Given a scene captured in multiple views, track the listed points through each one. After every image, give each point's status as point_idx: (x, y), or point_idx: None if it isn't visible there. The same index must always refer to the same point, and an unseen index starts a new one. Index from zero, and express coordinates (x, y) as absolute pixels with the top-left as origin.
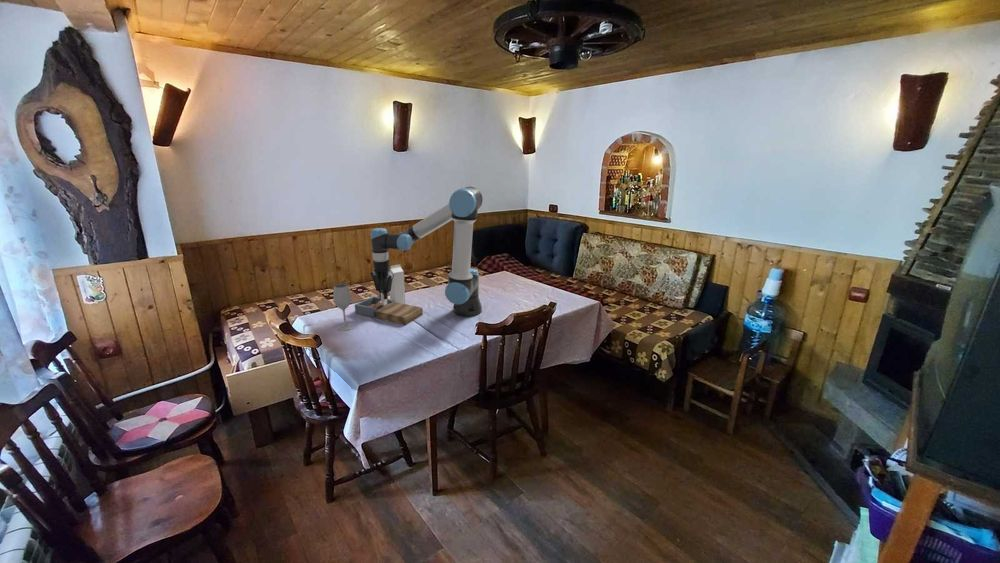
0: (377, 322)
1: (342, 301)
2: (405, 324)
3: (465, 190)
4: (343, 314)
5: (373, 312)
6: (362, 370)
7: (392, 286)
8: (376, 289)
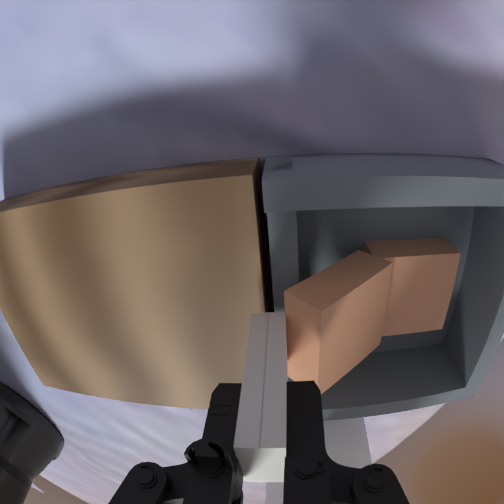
0: (178, 99)
1: None
2: (3, 200)
3: None
4: None
5: (291, 167)
6: None
7: None
8: (382, 486)
